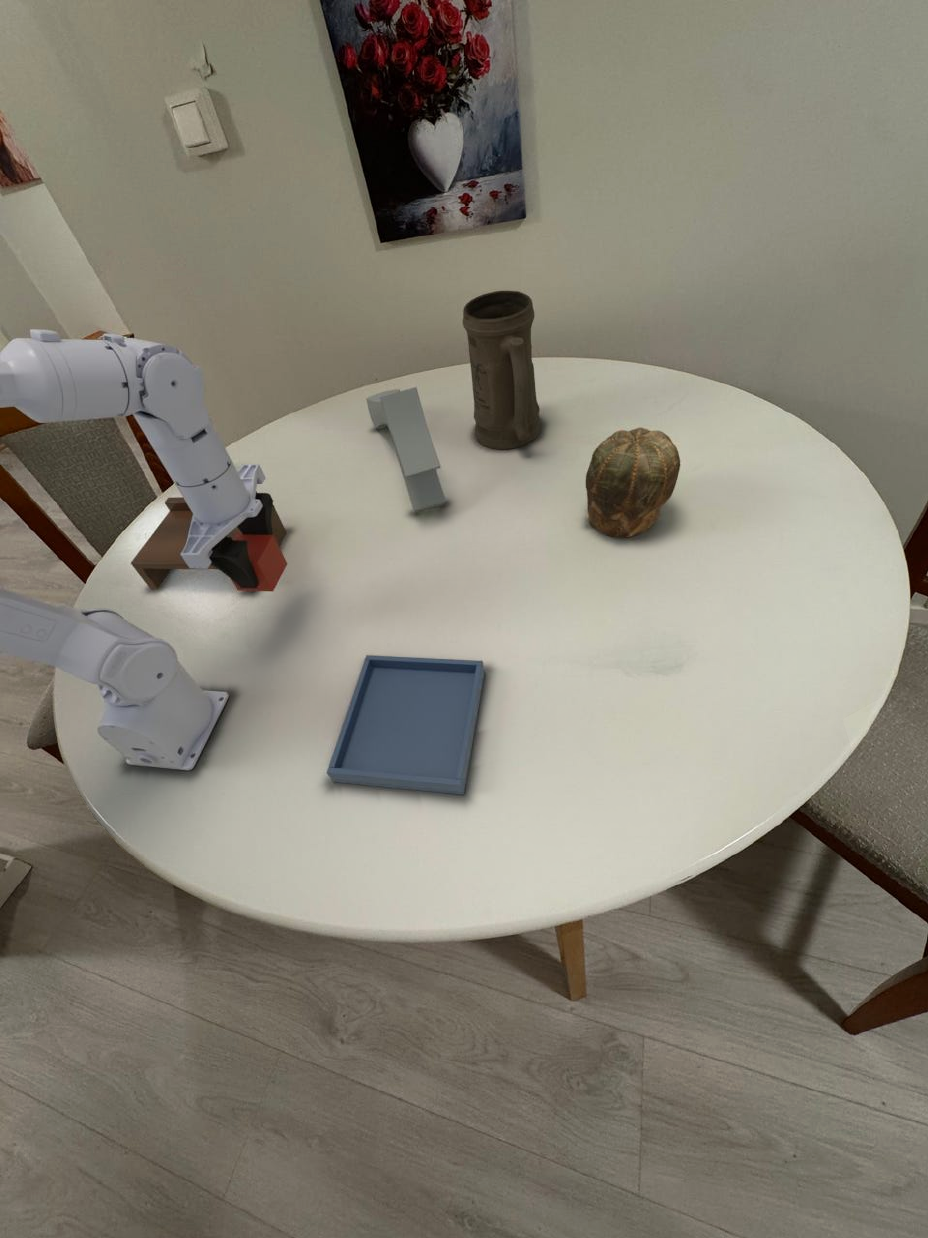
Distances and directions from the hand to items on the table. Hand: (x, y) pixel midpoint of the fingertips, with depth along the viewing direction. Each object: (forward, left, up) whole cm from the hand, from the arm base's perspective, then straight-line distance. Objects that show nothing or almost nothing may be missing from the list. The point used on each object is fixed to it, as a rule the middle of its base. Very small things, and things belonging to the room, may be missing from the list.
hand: (258, 570), depth 66 cm
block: (0, 0, -1) cm, 1 cm away
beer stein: (+40, -24, -9) cm, 48 cm away
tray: (-13, -19, -9) cm, 25 cm away
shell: (+20, -41, -9) cm, 47 cm away
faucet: (+33, -8, -9) cm, 35 cm away
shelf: (+11, +15, -9) cm, 20 cm away
